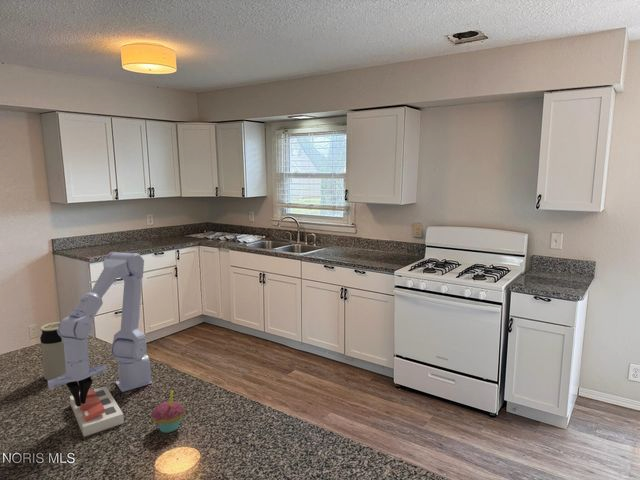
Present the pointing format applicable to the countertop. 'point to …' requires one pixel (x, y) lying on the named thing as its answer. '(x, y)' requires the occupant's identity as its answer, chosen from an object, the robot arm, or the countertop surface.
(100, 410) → the rocker
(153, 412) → the cupcake
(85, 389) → the robot arm
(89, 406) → the rocker middle
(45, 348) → the travel mug
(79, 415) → the power strip
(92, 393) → the rocker
